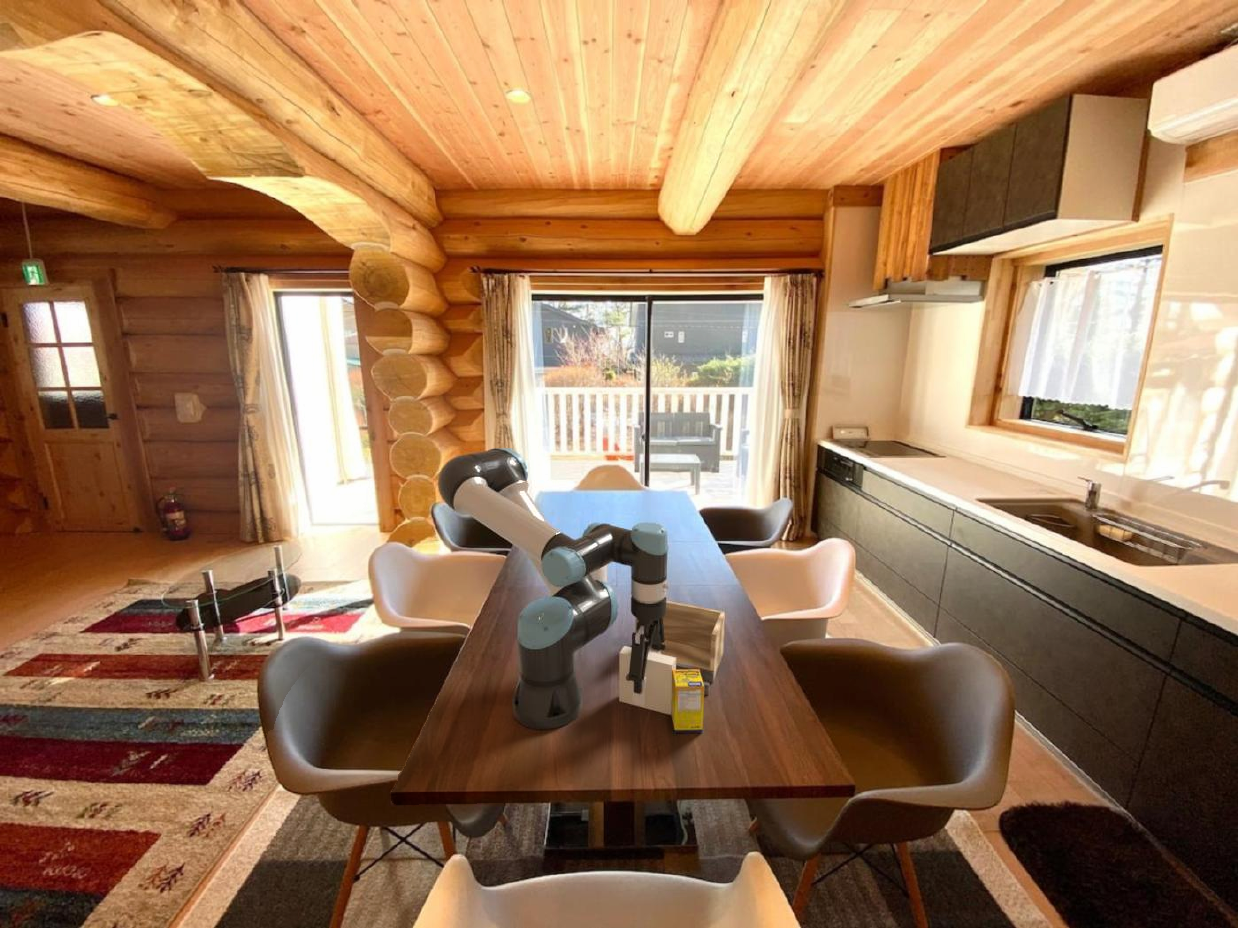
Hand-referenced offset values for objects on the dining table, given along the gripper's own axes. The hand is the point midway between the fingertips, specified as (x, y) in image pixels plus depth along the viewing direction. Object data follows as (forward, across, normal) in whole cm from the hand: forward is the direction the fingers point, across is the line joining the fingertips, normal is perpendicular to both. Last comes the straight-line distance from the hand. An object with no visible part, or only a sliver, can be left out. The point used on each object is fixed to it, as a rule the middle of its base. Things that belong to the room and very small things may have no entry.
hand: (647, 689), depth 114 cm
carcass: (+4, +18, -2) cm, 18 cm away
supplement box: (+4, -3, -10) cm, 11 cm away
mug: (+4, +44, +33) cm, 55 cm away
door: (+4, 0, 0) cm, 4 cm away
